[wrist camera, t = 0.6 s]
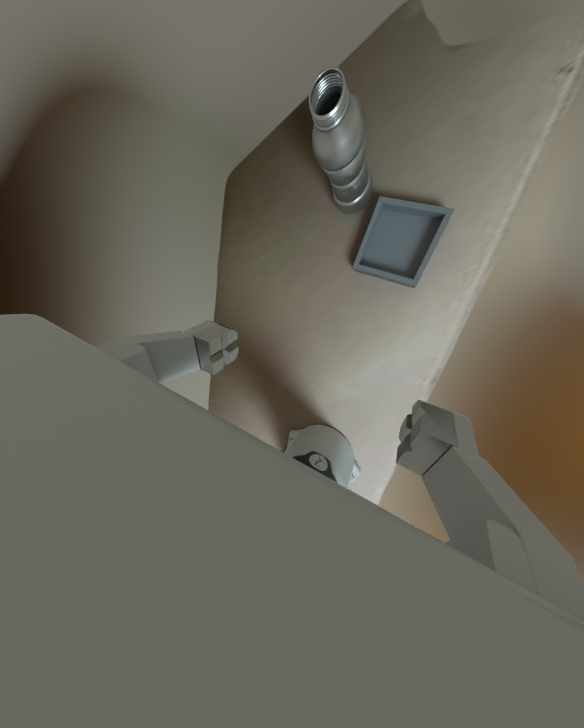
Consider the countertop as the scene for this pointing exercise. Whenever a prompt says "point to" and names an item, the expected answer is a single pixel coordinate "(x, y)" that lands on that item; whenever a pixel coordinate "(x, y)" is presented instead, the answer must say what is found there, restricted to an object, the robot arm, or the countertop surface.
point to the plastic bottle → (340, 140)
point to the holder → (401, 240)
